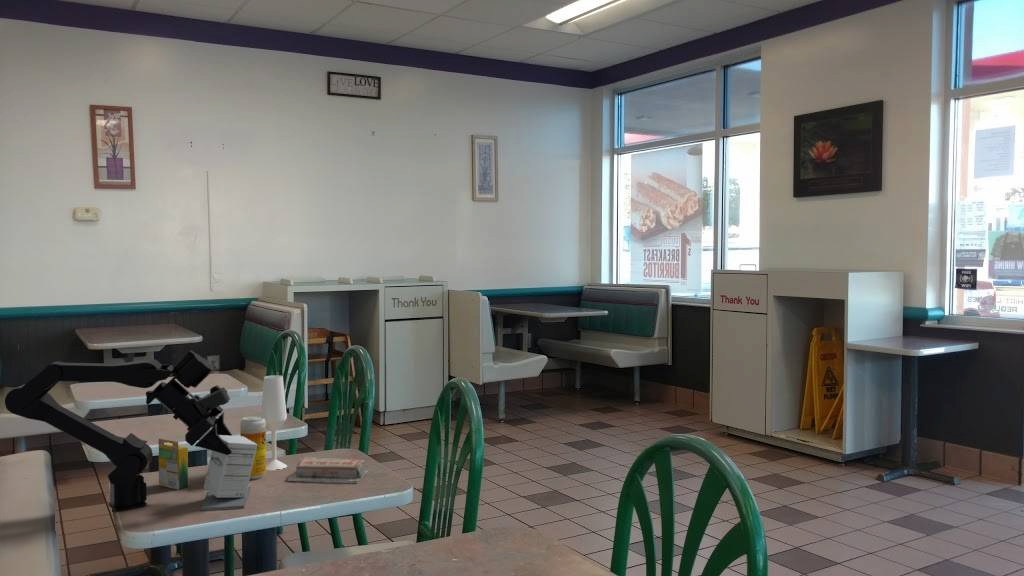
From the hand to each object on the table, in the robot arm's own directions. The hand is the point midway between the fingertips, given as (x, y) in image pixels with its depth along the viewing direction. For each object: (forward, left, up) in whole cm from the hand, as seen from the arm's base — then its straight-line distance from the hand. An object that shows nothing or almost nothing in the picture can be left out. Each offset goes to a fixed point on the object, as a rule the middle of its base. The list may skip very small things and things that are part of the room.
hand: (232, 448), depth 182 cm
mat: (-1, +1, -12) cm, 12 cm away
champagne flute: (+19, +19, -12) cm, 30 cm away
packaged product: (+26, +2, -13) cm, 29 cm away
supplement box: (-2, +1, -10) cm, 11 cm away
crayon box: (-7, +19, -12) cm, 24 cm away
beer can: (+11, +14, -12) cm, 22 cm away
